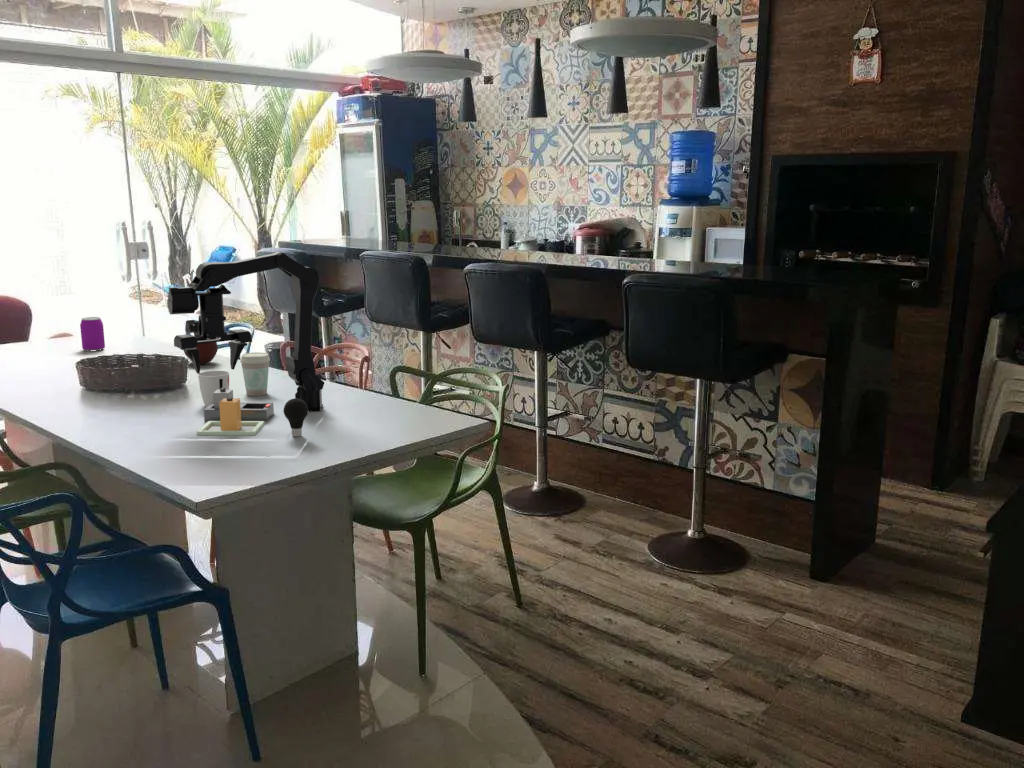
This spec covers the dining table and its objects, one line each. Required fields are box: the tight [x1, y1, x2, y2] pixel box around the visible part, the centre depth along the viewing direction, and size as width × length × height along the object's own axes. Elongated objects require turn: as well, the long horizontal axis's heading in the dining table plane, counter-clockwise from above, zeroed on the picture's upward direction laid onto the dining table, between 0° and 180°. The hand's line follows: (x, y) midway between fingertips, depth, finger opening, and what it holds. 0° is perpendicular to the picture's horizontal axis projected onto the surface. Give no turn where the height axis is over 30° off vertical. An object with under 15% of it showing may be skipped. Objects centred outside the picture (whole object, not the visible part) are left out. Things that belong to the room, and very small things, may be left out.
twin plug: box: [213, 388, 234, 409], centre depth 224 cm, size 4×4×8 cm
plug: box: [219, 397, 243, 431], centre depth 213 cm, size 4×4×9 cm
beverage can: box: [79, 316, 106, 352], centre depth 319 cm, size 8×8×12 cm
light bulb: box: [283, 398, 309, 438], centre depth 210 cm, size 6×6×10 cm
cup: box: [197, 370, 230, 408], centre depth 237 cm, size 8×8×10 cm
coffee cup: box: [240, 351, 271, 397], centre depth 255 cm, size 8×9×12 cm
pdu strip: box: [203, 401, 275, 422], centre depth 225 cm, size 16×8×4 cm, turn 93°
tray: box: [196, 421, 265, 436], centre depth 214 cm, size 14×10×2 cm
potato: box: [183, 336, 219, 365], centre depth 298 cm, size 11×13×10 cm
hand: (215, 371), depth 223 cm, fingers open, 9 cm apart
